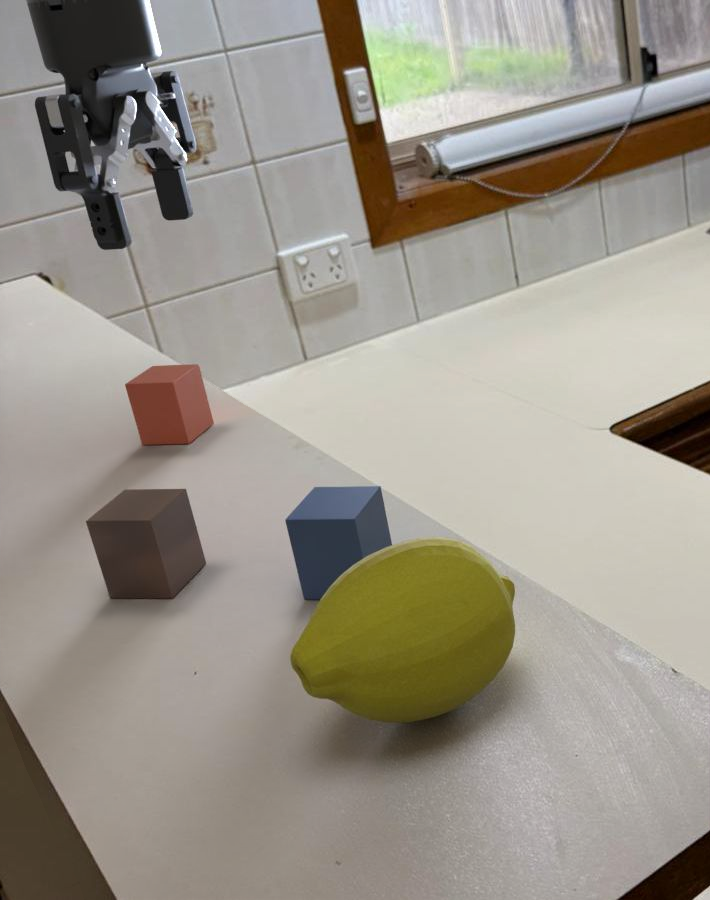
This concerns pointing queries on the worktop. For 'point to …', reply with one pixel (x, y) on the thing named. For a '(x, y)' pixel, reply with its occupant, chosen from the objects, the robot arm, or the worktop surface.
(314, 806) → the worktop surface
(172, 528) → the walnut block
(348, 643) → the lemon
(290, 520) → the slate block
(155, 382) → the terracotta block
